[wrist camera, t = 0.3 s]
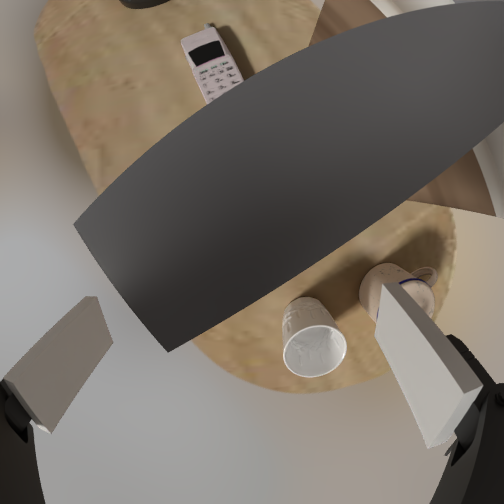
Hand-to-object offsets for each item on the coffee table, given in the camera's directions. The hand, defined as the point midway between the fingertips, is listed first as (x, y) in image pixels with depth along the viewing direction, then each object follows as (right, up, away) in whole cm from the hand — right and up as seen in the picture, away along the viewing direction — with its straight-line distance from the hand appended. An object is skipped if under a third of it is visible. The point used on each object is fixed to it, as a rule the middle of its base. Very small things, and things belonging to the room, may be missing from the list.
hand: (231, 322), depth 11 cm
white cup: (+9, -7, +29) cm, 31 cm away
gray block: (+7, +9, -6) cm, 13 cm away
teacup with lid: (+22, -2, +27) cm, 36 cm away
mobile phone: (-3, +26, +22) cm, 34 cm away
